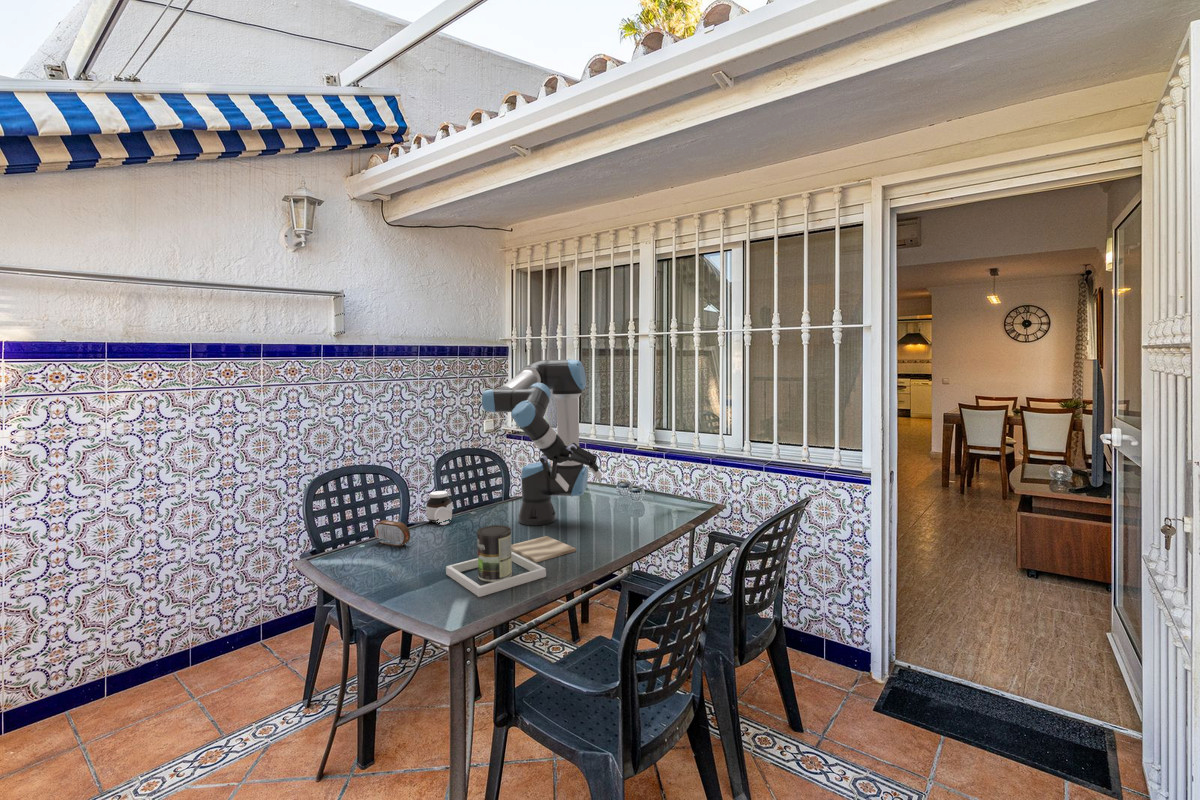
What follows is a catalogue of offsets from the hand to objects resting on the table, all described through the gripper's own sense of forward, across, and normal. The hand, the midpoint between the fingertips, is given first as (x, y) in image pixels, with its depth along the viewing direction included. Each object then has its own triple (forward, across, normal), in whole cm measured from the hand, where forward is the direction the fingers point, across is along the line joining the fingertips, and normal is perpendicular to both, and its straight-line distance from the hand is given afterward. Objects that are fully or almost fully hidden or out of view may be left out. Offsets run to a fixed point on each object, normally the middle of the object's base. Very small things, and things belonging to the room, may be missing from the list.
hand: (583, 483), depth 192 cm
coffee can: (-6, -22, -35) cm, 42 cm away
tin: (-15, -70, -16) cm, 74 cm away
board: (+9, -21, -15) cm, 27 cm away
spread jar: (+2, -73, +7) cm, 73 cm away
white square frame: (-6, -22, -35) cm, 42 cm away
